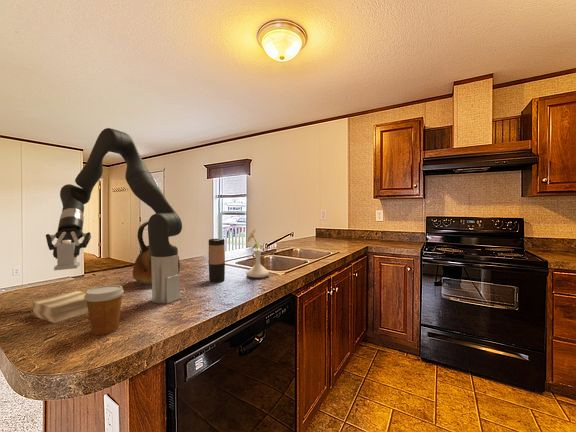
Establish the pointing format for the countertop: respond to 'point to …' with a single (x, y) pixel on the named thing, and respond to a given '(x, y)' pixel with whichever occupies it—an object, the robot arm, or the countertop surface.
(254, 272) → the flower in vase
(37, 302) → the birch block
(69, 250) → the grey box with knob
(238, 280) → the countertop surface
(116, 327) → the disposable coffee cup
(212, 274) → the travel mug
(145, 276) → the ceramic pitcher
